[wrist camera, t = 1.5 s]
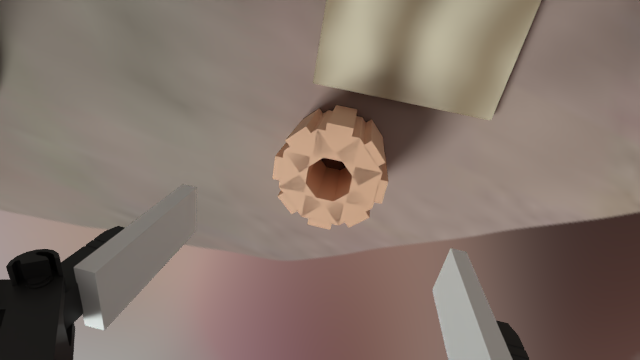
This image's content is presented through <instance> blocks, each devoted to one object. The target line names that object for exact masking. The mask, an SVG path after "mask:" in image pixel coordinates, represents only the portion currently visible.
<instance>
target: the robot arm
mask: <svg viewBox="0 0 640 360" xmlns="http://www.w3.org/2000/svg"><path fill="white" fill-rule="evenodd" d="M196 211H197V187H193V186H189V185H184V184H182V185H181V186H180V187H178V188H177V189H176V190H174V191H173V192H172V193H170V194H169V195H168V196H167V197H165V198H164V199H163V200H161V201H160V202H159V203H157V204H156V205H155V206H153V207H152V208H151V209H149V210H148V211H147V212H146V213H144V214H143V215H142V216H140V217H139V218H138V219H136V220H135V221H134V222H132V223H131V224H130V225H128V226H127V227H126V228H124V227H120V226H117V227H114V228H112V229H109V230H107V231H105V232H103V233H102V234H100V235H99V236H98V237H96V238H95V239H94V241H93V240H92V241H91V242H89V243H88V244H87V245H86V246H85V247H82V248H81V249H79V250H78V251H77V252H75V253H74V254H73V255H71V256H70V257H68V258H67V259H65V260H64V261H63V262H60V258H59V254H58V253H57V252H55V251H54V250H48V249H40V250H33V251H29V252H26V253H23V254H21V255H19V256H17V257H15V258H14V259H13V260H11V261H10V262H9V263H8V265H7V266H6V267H7V271H8V274H9V277H10V280H0V360H73V352H74V337H75V326H74V321H76V320H77V319H78V318H79V317H80V316H81V315H82V314H83V318H84V322H85V325H86V326H90V327H93V328H97V329H101V330H105V329H106V328H107V327H108V326H109V325H110V324H111V323H112V322H113V321H114V320H115V318H116V317H117V316H118V315H119V314H120V313H121V312H122V311H123V310H124V309H125V308H126V307H127V305H128V304H129V303H130V302H131V301H132V300H133V299H134V298H135V297H136V296H137V295H138V294H139V292H140V291H141V290H142V289H143V288H144V287H145V286H146V285H147V284H148V283H149V282H150V281H151V280H152V278H153V277H154V276H155V275H156V274H157V273H158V272H159V271H160V270H161V269H162V268H163V266H165V264H166V263H167V262H168V261H169V260H170V259H171V258H172V257H173V256H174V255H175V253H177V251H178V250H179V249H180V248H181V247H182V246H183V245H184V244H185V243H186V242H187V241H188V240H189V238H190V237H191V236H192V235H193V234H194V233H195V232H196ZM433 295H434V299H435V304H436V308H437V312H438V317H439V321H440V325H441V330H442V334H443V338H444V343H445V347H446V352H447V356H448V360H529V357H528V355H527V353H526V351H525V350H524V347H523V345H522V342H521V340H520V338H519V336H518V335H517V334H516V332H515V331H514V330H513V329H512V328H511V327H510V325H509V324H508V323H504V322H500V321H496V320H495V317H494V315H493V313H492V310H491V308H490V306H489V303H488V301H487V299H486V296H485V294H484V292H483V289H482V287H481V285H480V282H479V280H478V278H477V275H476V273H475V271H474V269H473V266H472V264H471V262H470V259H469V257H468V255H467V252H464V251H460V250H456V249H452V248H451V249H450V251H449V254H448V256H447V258H446V260H445V262H444V265H443V267H442V269H441V271H440V274H439V276H438V279H437V281H436V283H435V285H434V287H433Z"/></svg>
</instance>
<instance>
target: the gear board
mask: <svg viewBox="0 0 640 360" xmlns="http://www.w3.org/2000/svg"><path fill="white" fill-rule="evenodd" d="M540 3H541V0H326V6H325V12H324V18H323V24H322V30H321V36H320V42H319V48H318V55H317V61H316V67H315V73H314V79H313V83H314V84H319V85H324V86H328V87H333V88H338V89H343V90H347V91H352V92H357V93H362V94H366V95H371V96H376V97H381V98H386V99H390V100H395V101H400V102H405V103H409V104H414V105H419V106H424V107H429V108H433V109H438V110H443V111H448V112H452V113H457V114H462V115H467V116H471V117H476V118H481V119H486V120H491V119H492V117H493V114H494V112H495V110H496V107H497V105H498V102H499V100H500V98H501V95H502V93H503V91H504V88H505V86H506V83H507V81H508V79H509V76H510V74H511V72H512V69H513V67H514V64H515V62H516V60H517V57H518V55H519V53H520V50H521V48H522V45H523V43H524V41H525V38H526V36H527V33H528V31H529V29H530V26H531V24H532V22H533V19H534V17H535V14H536V12H537V10H538V7H539V5H540Z"/></svg>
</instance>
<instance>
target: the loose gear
mask: <svg viewBox="0 0 640 360" xmlns="http://www.w3.org/2000/svg"><path fill="white" fill-rule="evenodd" d="M356 114H357V109H353V108H348V107H344V106H339V105H336V106H335V108H334V110H333V111H331V110H328V111H326V112H325V113H322V111H321V110H320V108H319V109H317V110H316V111H314V112H313V113H311V114H310V115H308V116H307V117H306V118H304V119H303V120H302V121H301V122H300V123H299V124H298V125H297V127H296V128H295V129H294V130H293V131H292V133H291V134H290V135H289V136H288V138H287V139H286V140H285V141H286V143H285V145H284V146H283V147H282V148H281V150H280V151H279V152H278V153H277V155H276V156H275V162H274V170H273V178H272V179H275V180H280V182H279V188H280V189H281V191H280V193H279V195H278V197H279V199H280V200H281V201H282V203H283V204H284V205H285V206H286V208H287V209H288V210H289V212H290V213H291V214H293V213H295V212H297V211H298V213H299V214H300V215H301V217H305V218H309V219H308V225H312V226H317V227H321V228H325V229H329V230H330V229H331V224H335V225H340V224H342V223H344V222H345V223H346V225H347V226H348V227H351V226H353V225H355V224H357V223H359V222H361V221H364V220H366V219H368V218H369V215H370V209H372V207H373V204H374V202H376V203H380V204H382V201H383V197H384V194H385V191H386V187H387V184H388V175H387V166H386V157H385V153H384V144H383V137H382V135H381V133H380V132H379V130H378V129H377V127H376V125H375V124H374V122H373V121H372V119H371V120H370V121H368V122H365V121H364V119H363V117H359V116H356ZM322 158H328V159H332V160H337V161H341V162H343V163H344V165H345V166H346V168H344V169H342V170H337V169H332V168H328V167H326V166H325V164H324V163H323V162H322V160H321V159H322Z"/></svg>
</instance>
